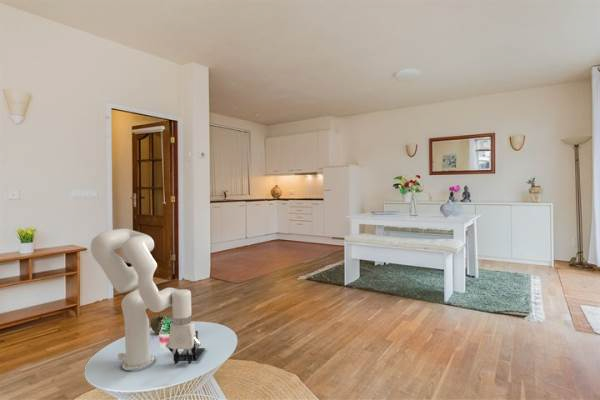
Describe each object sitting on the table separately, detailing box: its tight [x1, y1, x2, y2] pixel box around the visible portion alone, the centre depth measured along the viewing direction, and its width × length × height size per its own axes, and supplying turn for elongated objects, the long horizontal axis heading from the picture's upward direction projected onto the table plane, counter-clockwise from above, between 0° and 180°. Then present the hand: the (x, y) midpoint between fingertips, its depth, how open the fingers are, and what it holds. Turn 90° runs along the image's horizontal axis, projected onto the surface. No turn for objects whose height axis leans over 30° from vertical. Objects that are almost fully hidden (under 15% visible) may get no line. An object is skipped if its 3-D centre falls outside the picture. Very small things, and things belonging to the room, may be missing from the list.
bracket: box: [178, 330, 206, 362], centre depth 151 cm, size 11×9×11 cm
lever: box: [177, 349, 188, 358], centre depth 147 cm, size 12×5×2 cm, turn 178°
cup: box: [149, 315, 166, 336], centre depth 176 cm, size 8×7×8 cm
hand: (183, 362), depth 143 cm, fingers closed on lever, 5 cm apart
